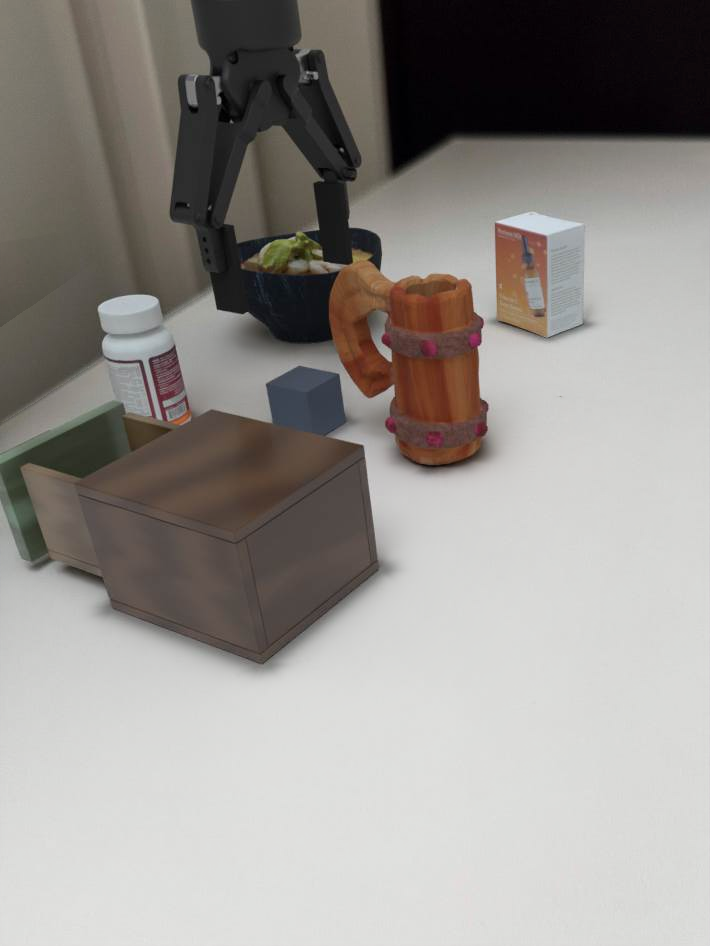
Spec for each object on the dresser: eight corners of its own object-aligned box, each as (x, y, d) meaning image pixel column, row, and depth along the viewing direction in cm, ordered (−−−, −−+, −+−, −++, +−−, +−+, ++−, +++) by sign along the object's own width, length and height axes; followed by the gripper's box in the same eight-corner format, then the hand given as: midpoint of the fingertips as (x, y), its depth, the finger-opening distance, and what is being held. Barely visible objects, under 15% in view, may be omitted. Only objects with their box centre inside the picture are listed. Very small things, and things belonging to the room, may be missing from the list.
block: (274, 432, 94) (265, 383, 92) (306, 413, 97) (299, 365, 95) (314, 442, 92) (306, 392, 89) (346, 422, 95) (339, 373, 93)
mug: (514, 445, 90) (508, 266, 81) (458, 485, 84) (446, 297, 75) (380, 412, 97) (362, 243, 88) (322, 446, 91) (295, 271, 83)
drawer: (-26, 542, 79) (-62, 446, 74) (92, 478, 86) (65, 388, 82) (142, 603, 71) (113, 500, 66) (255, 527, 79) (236, 430, 74)
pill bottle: (188, 407, 100) (161, 287, 93) (196, 433, 95) (169, 308, 88) (121, 419, 98) (89, 298, 91) (126, 446, 93) (93, 320, 87)
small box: (496, 321, 115) (492, 221, 109) (533, 308, 118) (531, 209, 111) (547, 338, 110) (546, 234, 103) (585, 324, 113) (586, 222, 106)
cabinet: (111, 608, 72) (73, 482, 67) (236, 525, 81) (211, 408, 75) (262, 664, 66) (233, 531, 60) (379, 568, 75) (364, 445, 69)
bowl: (417, 333, 113) (409, 237, 107) (268, 372, 106) (251, 271, 100) (347, 294, 125) (336, 206, 119) (210, 326, 118) (191, 234, 112)
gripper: (151, 4, 65) (218, 341, 77) (386, -32, 81) (410, 249, 94) (68, 4, 68) (146, 327, 81) (310, -31, 85) (343, 240, 97)
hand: (288, 285), depth 87 cm, fingers open, 13 cm apart
